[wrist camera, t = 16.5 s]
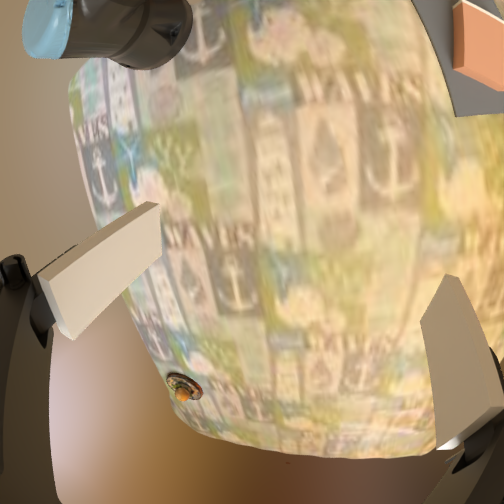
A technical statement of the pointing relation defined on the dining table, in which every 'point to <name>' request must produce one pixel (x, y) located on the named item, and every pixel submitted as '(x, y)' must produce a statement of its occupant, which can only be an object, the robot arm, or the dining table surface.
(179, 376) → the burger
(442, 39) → the mat
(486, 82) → the block
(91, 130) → the dining table surface
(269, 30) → the dining table surface
